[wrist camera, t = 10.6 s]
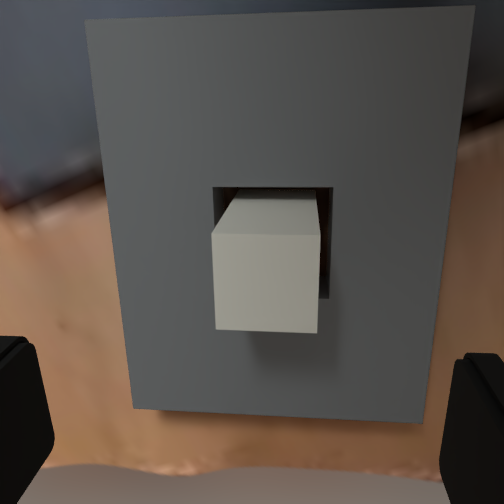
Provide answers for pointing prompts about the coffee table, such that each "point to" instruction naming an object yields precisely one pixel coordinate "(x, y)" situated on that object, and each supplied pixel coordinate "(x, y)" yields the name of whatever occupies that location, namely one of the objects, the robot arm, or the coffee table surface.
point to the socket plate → (282, 175)
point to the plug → (267, 262)
